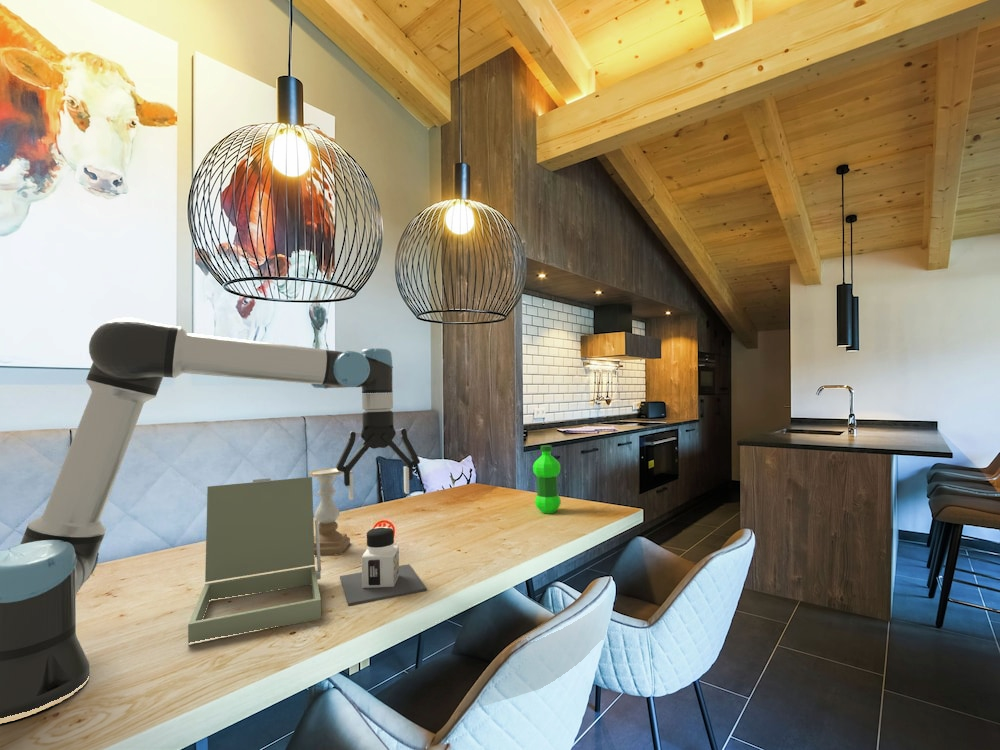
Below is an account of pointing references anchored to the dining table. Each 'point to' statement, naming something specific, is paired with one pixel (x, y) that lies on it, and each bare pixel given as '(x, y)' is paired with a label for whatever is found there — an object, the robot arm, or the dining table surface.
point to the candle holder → (328, 515)
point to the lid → (259, 527)
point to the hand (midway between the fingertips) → (379, 496)
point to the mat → (403, 585)
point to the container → (380, 559)
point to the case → (259, 617)
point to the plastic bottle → (547, 481)
